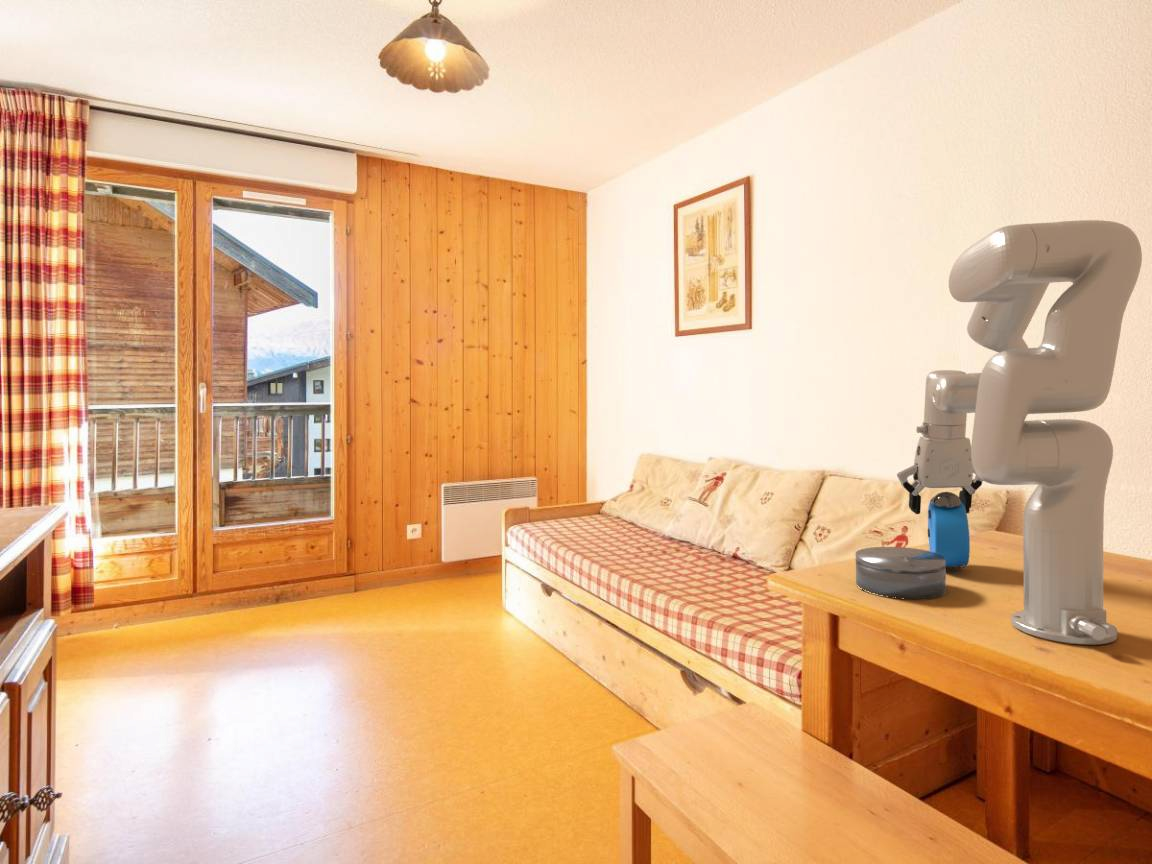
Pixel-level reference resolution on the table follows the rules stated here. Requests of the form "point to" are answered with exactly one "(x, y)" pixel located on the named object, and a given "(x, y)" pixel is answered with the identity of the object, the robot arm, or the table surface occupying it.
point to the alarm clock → (949, 529)
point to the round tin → (901, 572)
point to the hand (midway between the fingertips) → (939, 511)
